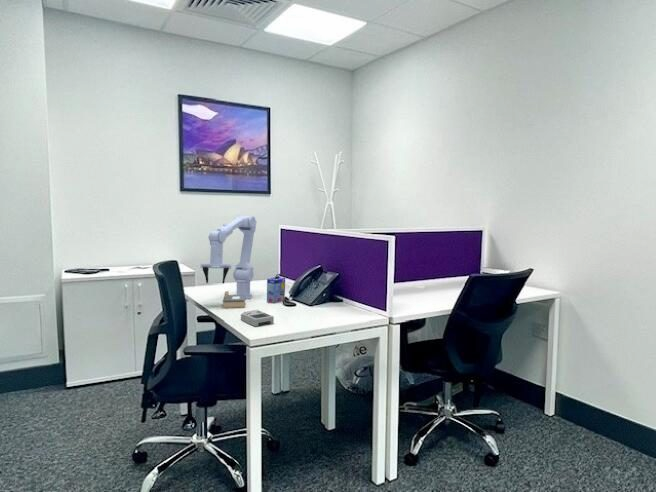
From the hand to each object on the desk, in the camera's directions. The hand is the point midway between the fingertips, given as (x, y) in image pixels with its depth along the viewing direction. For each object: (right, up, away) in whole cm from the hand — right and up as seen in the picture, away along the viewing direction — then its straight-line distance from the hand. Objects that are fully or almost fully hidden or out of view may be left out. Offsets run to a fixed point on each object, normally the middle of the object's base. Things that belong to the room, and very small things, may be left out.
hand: (215, 283), depth 217 cm
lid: (+8, -8, +4) cm, 13 cm away
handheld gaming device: (+24, -15, -25) cm, 38 cm away
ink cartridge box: (+28, -11, +15) cm, 34 cm away
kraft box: (+8, -12, +5) cm, 15 cm away
